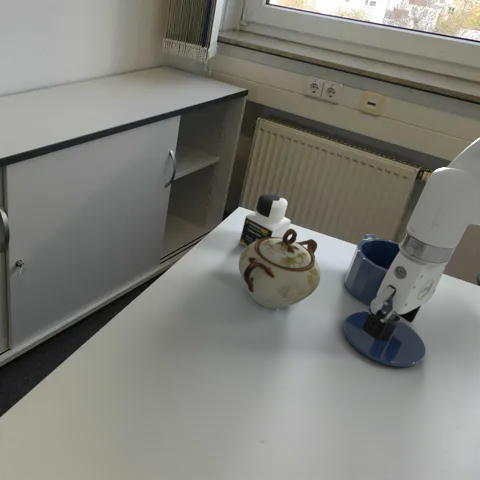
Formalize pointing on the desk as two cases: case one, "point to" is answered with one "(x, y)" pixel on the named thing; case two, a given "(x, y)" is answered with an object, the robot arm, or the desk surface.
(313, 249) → the sugar bowl
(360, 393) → the desk surface
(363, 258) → the pot
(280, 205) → the medicine bottle
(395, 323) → the lid
